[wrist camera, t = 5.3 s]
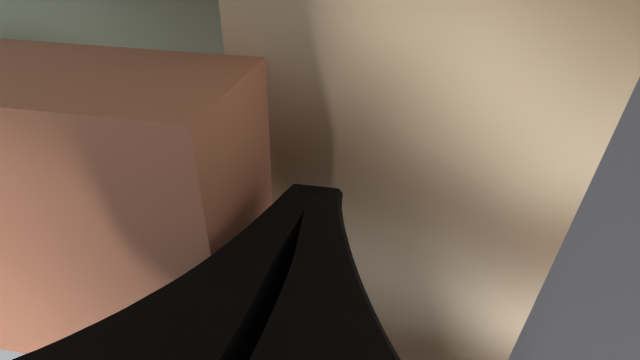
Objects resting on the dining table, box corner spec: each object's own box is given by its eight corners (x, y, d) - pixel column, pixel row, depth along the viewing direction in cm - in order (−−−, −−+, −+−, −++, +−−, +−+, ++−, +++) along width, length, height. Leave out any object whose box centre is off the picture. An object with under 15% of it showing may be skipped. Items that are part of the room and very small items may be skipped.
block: (275, 272, 13) (233, 391, 9) (83, 245, 13) (-20, 345, 10) (265, 57, 9) (189, 125, 6) (1, 38, 10) (-206, 87, 6)
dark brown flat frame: (596, 401, 14) (620, 455, 13) (-28, 302, 18) (-67, 335, 16) (1079, -249, 5) (1348, -325, 4) (-370, -199, 9) (-529, -229, 7)
